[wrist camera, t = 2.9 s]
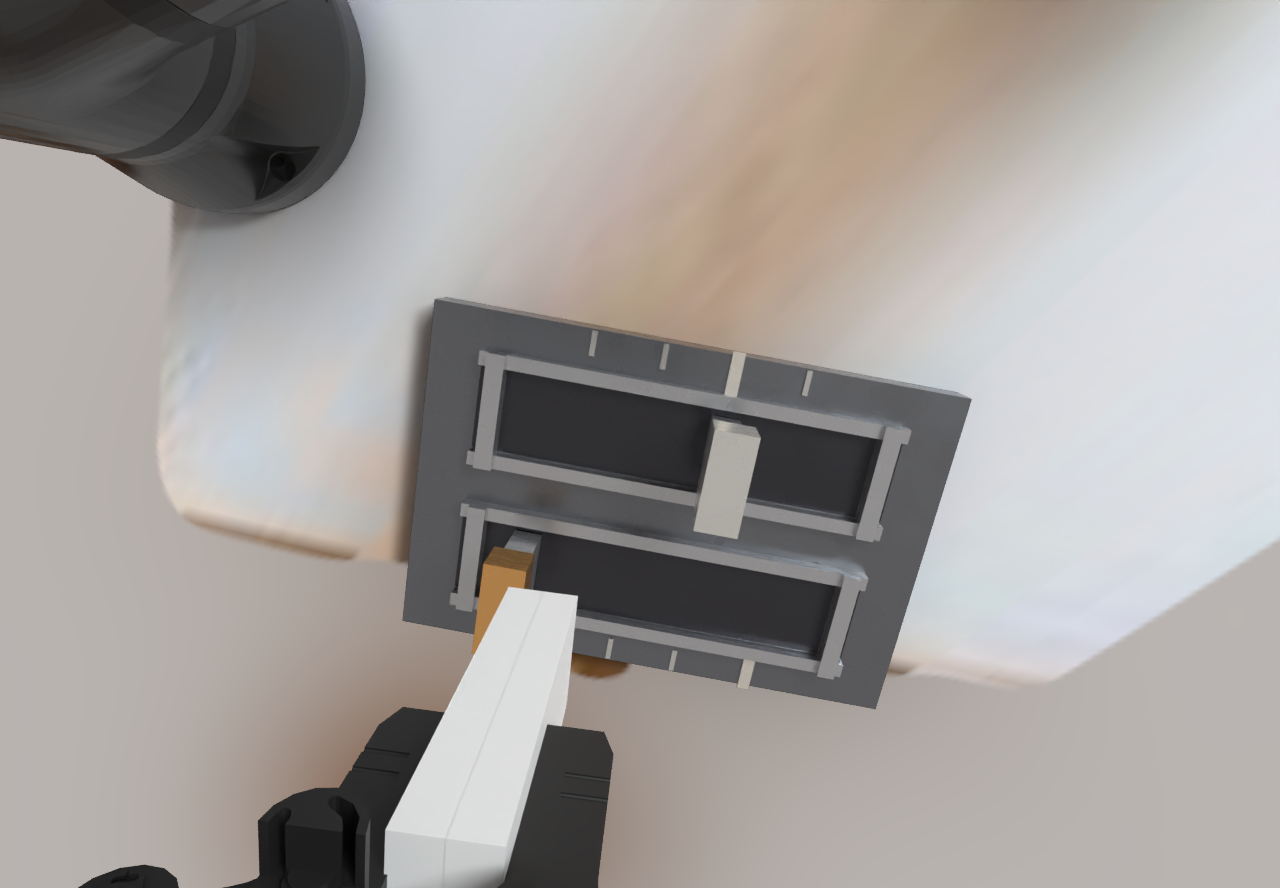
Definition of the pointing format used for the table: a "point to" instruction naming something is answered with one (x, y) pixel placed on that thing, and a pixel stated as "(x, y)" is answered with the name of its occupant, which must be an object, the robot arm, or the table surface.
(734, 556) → the console
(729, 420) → the fader
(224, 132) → the robot arm
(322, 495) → the table surface
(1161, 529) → the table surface
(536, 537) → the fader
